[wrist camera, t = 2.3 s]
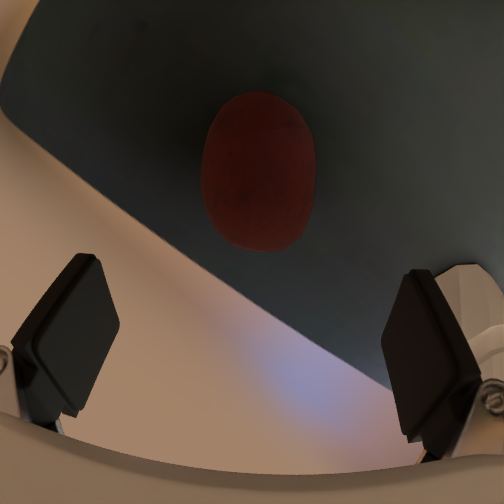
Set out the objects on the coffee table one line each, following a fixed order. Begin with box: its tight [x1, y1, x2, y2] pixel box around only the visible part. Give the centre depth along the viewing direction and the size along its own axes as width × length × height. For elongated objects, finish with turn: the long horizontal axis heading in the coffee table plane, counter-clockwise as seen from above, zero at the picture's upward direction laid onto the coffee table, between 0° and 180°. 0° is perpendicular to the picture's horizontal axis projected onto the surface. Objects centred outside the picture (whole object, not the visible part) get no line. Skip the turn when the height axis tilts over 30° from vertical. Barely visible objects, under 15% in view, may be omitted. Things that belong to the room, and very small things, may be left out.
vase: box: [434, 264, 504, 381], centre depth 20 cm, size 9×9×12 cm
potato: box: [200, 90, 316, 252], centre depth 17 cm, size 8×9×6 cm
